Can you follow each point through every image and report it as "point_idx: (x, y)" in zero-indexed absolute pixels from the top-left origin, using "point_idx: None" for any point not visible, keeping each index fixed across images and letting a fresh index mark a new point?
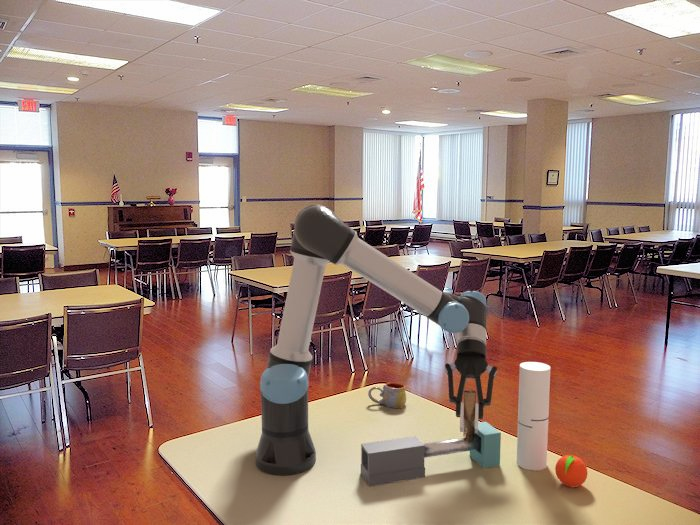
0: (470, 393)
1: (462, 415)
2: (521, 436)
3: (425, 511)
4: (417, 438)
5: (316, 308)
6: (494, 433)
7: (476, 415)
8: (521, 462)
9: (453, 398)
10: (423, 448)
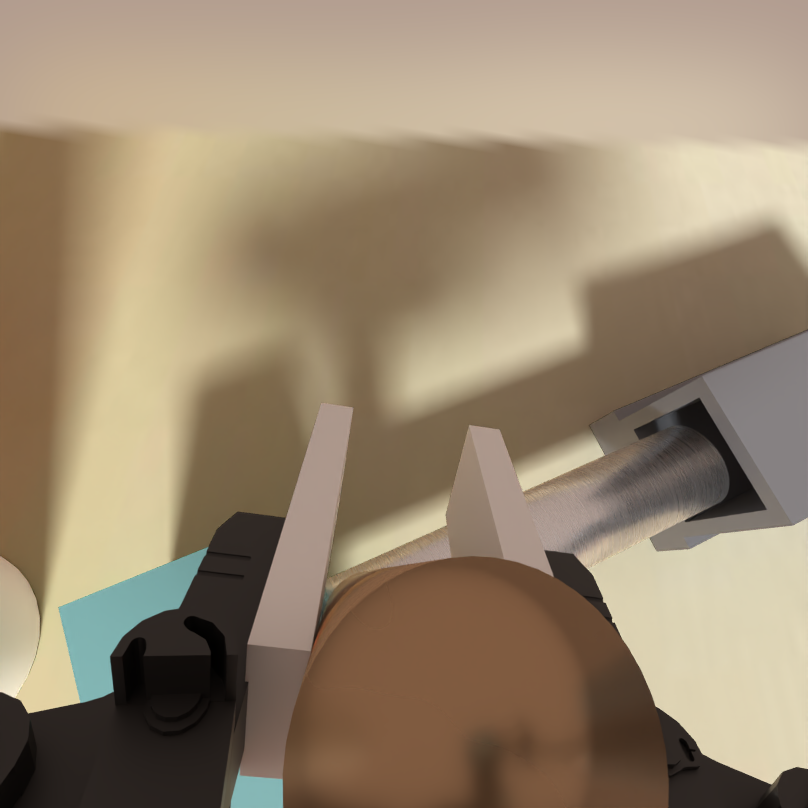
0: (473, 606)
1: (502, 503)
2: None
3: (562, 181)
4: (769, 485)
5: None
6: (133, 580)
7: (320, 492)
8: (11, 584)
9: (764, 801)
10: (693, 381)
